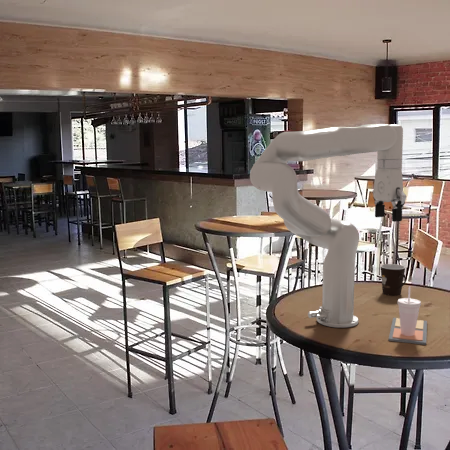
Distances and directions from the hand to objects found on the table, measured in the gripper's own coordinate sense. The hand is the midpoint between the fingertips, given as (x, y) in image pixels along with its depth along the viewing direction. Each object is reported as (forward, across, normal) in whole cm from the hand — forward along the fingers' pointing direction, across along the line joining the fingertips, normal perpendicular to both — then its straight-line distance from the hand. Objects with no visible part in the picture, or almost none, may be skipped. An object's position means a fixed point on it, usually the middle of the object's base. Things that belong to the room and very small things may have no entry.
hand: (388, 219), depth 183 cm
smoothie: (+30, +22, -7) cm, 38 cm away
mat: (+31, +18, -4) cm, 36 cm away
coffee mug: (+31, -18, +14) cm, 39 cm away
